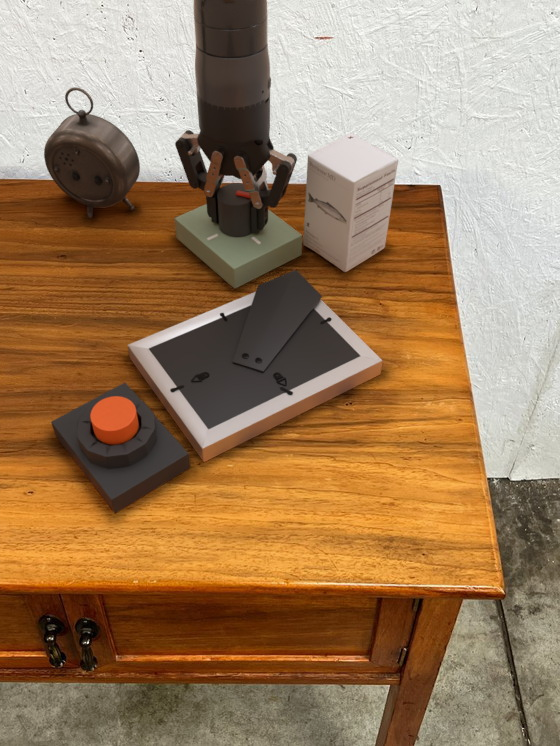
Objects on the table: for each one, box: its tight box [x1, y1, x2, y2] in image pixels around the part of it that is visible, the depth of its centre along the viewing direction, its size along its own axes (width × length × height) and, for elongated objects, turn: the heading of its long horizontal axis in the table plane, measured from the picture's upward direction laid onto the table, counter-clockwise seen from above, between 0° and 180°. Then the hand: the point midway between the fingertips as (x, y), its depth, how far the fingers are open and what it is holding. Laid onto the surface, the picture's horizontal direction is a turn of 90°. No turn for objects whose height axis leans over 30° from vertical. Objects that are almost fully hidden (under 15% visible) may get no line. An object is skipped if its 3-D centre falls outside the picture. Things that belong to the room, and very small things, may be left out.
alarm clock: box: [43, 86, 141, 219], centre depth 93 cm, size 11×5×16 cm, turn 72°
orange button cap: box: [90, 396, 139, 445], centre depth 69 cm, size 4×4×2 cm
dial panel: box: [173, 203, 303, 290], centre depth 93 cm, size 12×10×3 cm
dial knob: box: [217, 182, 253, 237], centre depth 90 cm, size 4×4×5 cm
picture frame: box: [127, 269, 384, 463], centre depth 79 cm, size 16×3×21 cm
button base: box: [50, 382, 191, 514], centre depth 71 cm, size 11×8×4 cm
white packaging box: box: [302, 132, 399, 273], centre depth 89 cm, size 7×7×13 cm
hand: (238, 223), depth 91 cm, fingers closed on dial knob, 4 cm apart
